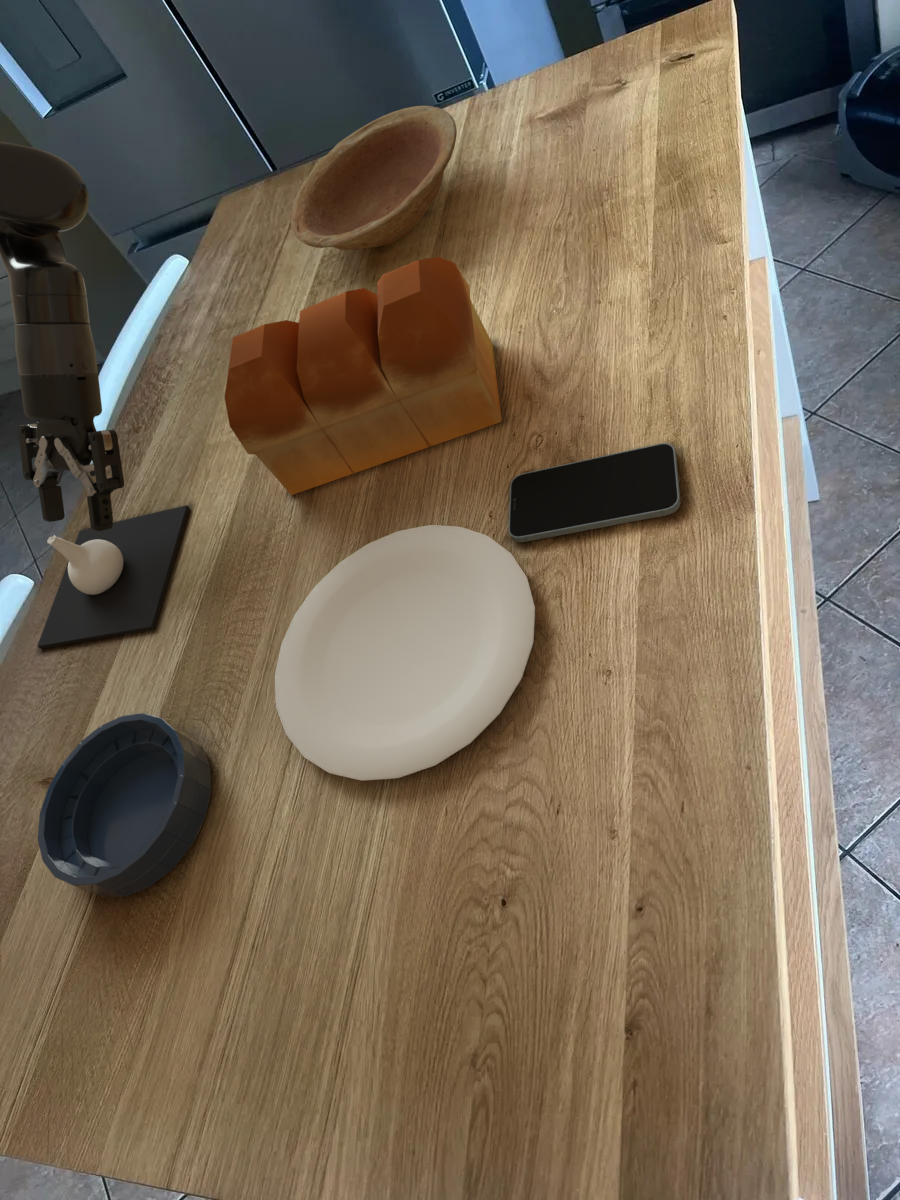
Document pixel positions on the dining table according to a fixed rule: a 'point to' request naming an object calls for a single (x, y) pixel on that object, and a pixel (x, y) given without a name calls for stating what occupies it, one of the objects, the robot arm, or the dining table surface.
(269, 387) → the bread
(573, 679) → the dining table surface
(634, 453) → the smartphone
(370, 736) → the plate
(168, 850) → the glazed bowl
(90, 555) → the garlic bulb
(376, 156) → the bowl
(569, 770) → the dining table surface
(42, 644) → the mat
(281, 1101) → the dining table surface
